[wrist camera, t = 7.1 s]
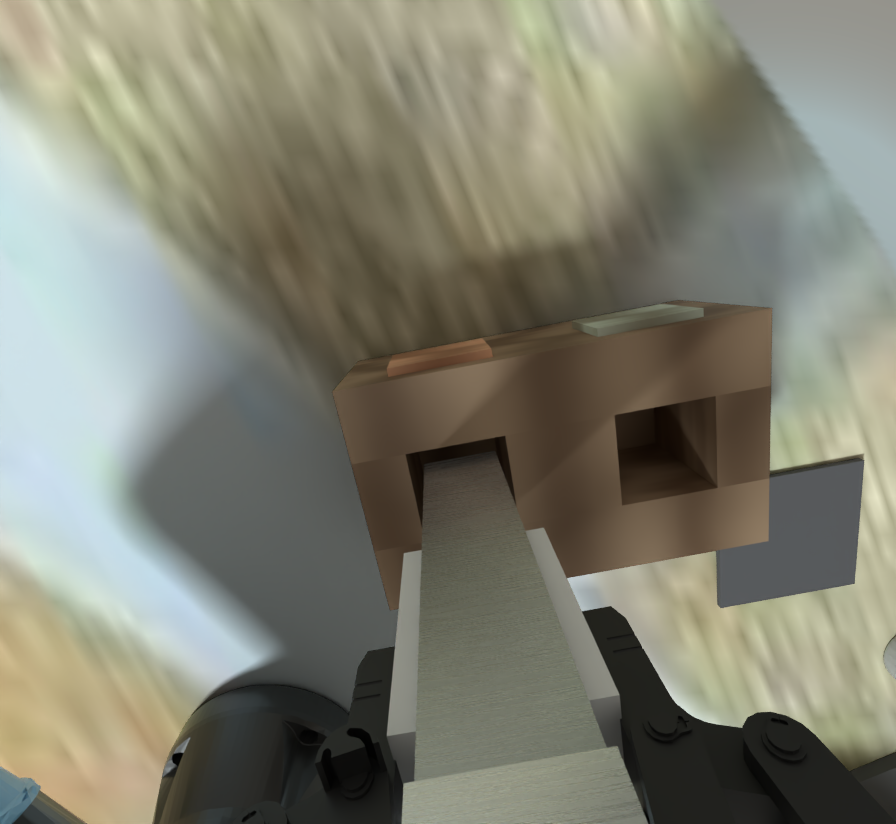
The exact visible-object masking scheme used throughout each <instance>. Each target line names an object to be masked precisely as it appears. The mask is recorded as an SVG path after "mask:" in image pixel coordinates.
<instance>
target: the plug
mask: <svg viewBox="0 0 896 824" xmlns="http://www.w3.org/2000/svg"><path fill="white" fill-rule="evenodd" d="M402 824H648V822H647V820H646V817H645V815H644V812H643V810H642V807H641V804H640V802H639V799H638V797H637V794H636V792H635V789H634V787H633V784H632V782H631V779H630V777H629V774H628V772H627V769H626V767H625V764H624V762H623V759H622V757H621V754H620V752H619V749H618V747H617V746H614V747H608V748H607V747H606V744H605V742H604V739H603V736H602V734H601V731H600V728H599V726H598V723H597V720H596V718H595V715H594V712H593V710H592V707H591V704H590V702H589V699H588V696H587V694H586V691H585V688H584V686H583V683H582V680H581V678H580V675H579V672H578V670H577V667H576V664H575V662H574V659H573V656H572V654H571V651H570V648H569V646H568V643H567V641H566V638H565V635H564V633H563V630H562V627H561V625H560V622H559V619H558V617H557V614H556V611H555V609H554V606H553V603H552V601H551V598H550V595H549V593H548V590H547V587H546V585H545V582H544V579H543V577H542V574H541V571H540V569H539V566H538V563H537V561H536V558H535V555H534V553H533V550H532V547H531V545H530V542H529V539H528V537H527V534H526V531H525V529H524V526H523V523H522V521H521V518H520V515H519V513H518V510H517V507H516V505H515V502H514V499H513V497H512V494H511V492H510V489H509V486H508V484H507V481H506V478H505V476H504V473H503V470H502V468H501V465H500V462H499V460H498V457H497V454H496V452H495V451H491V452H485V453H480V454H475V455H469V456H464V457H458V458H453V459H448V460H442V461H437V462H432V463H426V464H424V490H423V521H422V553H421V584H420V616H419V647H418V679H417V710H416V742H415V773H414V782H408V783H404V786H403V805H402Z"/></svg>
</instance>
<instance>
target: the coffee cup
mask: <svg viewBox="0 0 896 824" xmlns="http://www.w3.org/2000/svg"><path fill="white" fill-rule="evenodd" d="M884 664H885V667H886V669H887V670H888V672H889V673H890V674H891V675H892V676H893V677H894V678H895V679H896V636H895V637H894V638H893V639H892V640H891V641H890V643H889V644H888V645H887V647H886V649H885V652H884Z"/></svg>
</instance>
